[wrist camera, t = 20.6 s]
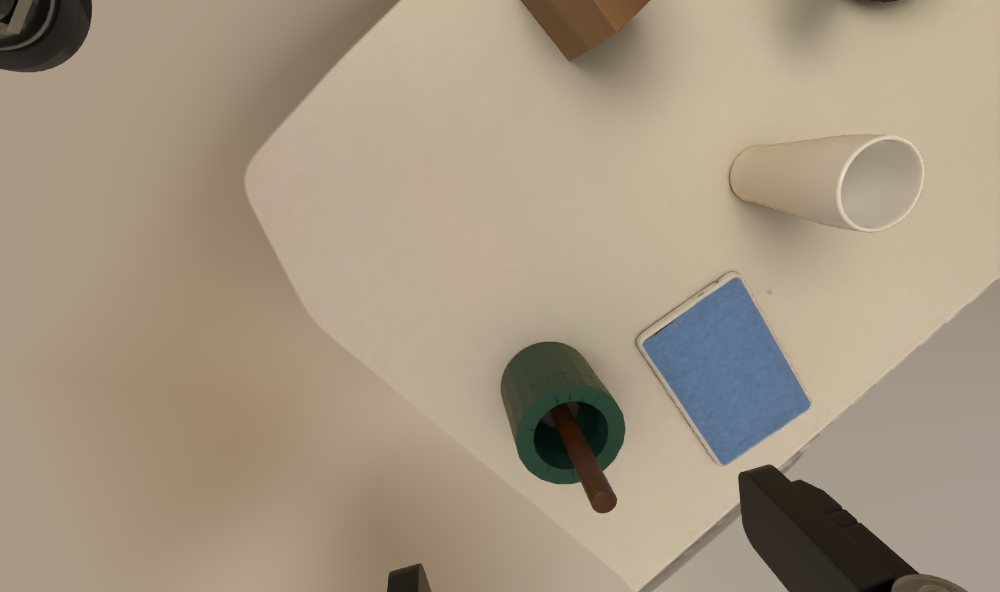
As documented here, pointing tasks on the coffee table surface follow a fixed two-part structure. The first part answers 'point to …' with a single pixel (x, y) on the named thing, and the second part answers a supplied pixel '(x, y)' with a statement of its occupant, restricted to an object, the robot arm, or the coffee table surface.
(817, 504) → the robot arm
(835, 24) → the coffee table surface
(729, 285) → the tablet
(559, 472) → the green hollow cylinder
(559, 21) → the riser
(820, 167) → the white tall cup
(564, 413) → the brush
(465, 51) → the coffee table surface
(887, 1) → the teapot
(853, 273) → the coffee table surface
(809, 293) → the coffee table surface
